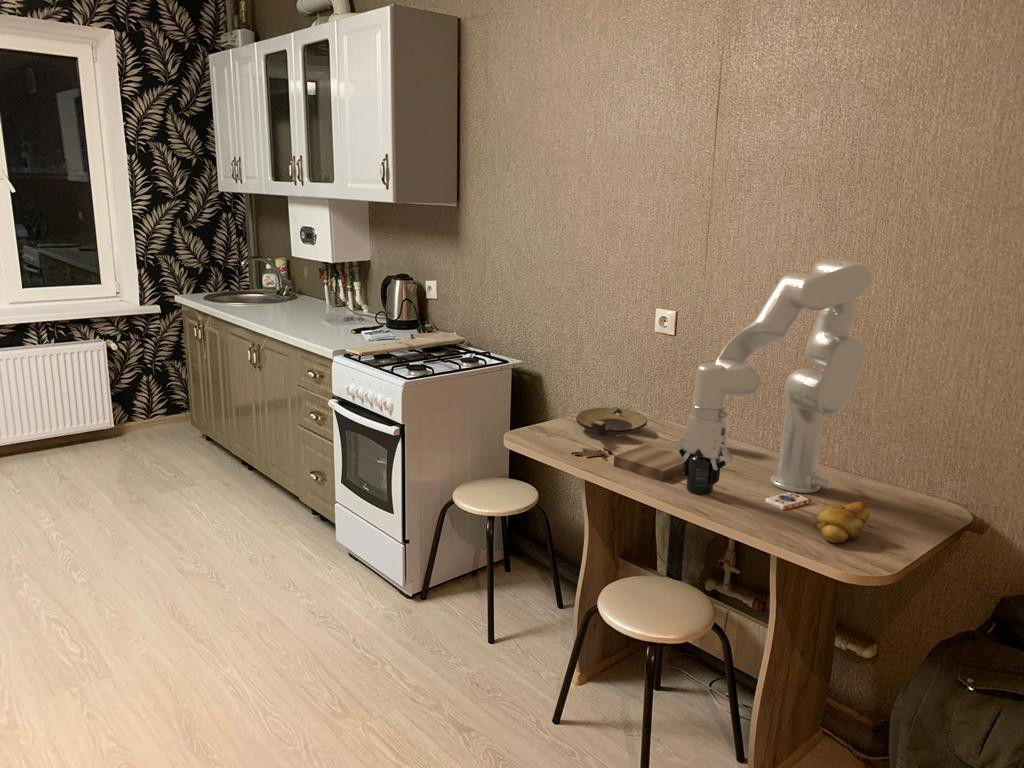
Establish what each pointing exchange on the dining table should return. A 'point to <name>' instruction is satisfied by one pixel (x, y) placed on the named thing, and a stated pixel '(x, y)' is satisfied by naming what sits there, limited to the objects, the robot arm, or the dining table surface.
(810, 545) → the dining table surface
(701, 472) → the supplement bottle
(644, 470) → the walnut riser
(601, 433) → the olive brown shallow dish
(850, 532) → the bread roll
